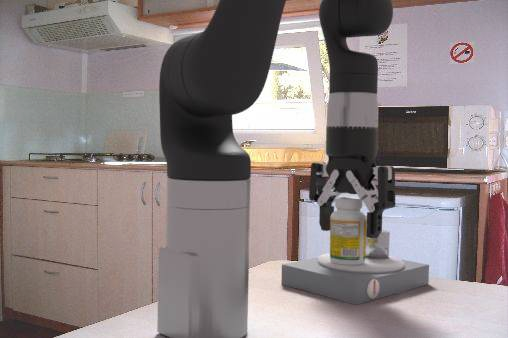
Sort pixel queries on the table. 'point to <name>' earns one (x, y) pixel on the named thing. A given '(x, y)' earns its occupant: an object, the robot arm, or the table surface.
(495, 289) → the table surface
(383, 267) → the scale
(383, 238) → the cylinder
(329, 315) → the table surface
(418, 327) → the table surface
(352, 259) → the supplement bottle
